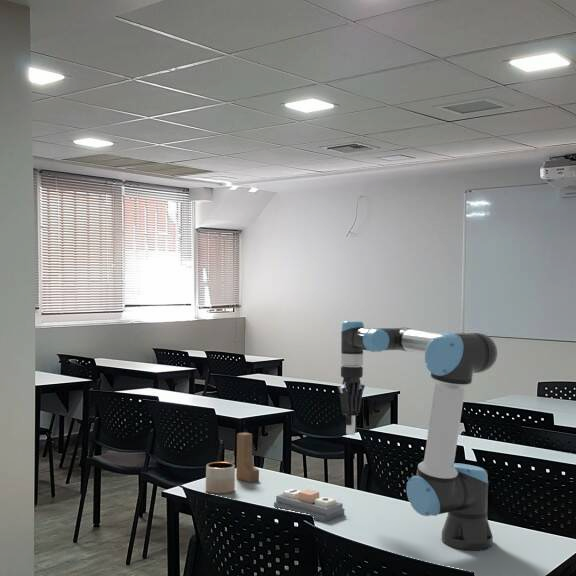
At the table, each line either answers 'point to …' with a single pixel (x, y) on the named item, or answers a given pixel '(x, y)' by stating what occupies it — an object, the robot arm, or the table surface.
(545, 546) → the table surface
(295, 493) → the bar key
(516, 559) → the table surface
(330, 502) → the dot key
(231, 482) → the planter
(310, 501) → the blank key
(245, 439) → the wooden block
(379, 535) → the table surface
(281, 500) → the keypad
